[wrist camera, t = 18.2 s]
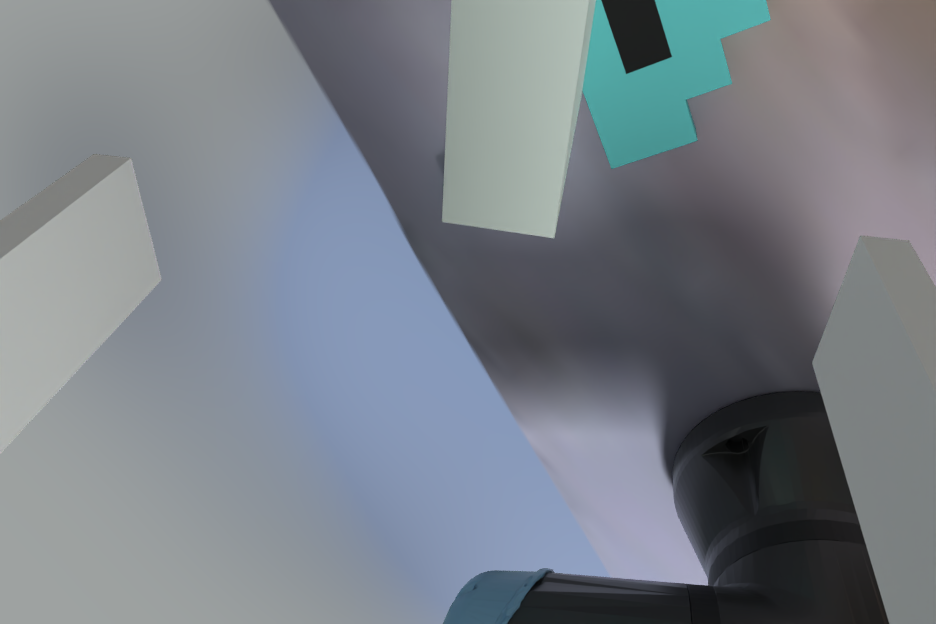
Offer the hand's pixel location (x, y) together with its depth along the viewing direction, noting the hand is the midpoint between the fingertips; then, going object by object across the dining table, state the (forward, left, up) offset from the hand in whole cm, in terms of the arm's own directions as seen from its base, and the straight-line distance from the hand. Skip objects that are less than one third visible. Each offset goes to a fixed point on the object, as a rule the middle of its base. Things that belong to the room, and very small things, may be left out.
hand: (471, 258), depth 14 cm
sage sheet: (0, +1, -25) cm, 25 cm away
